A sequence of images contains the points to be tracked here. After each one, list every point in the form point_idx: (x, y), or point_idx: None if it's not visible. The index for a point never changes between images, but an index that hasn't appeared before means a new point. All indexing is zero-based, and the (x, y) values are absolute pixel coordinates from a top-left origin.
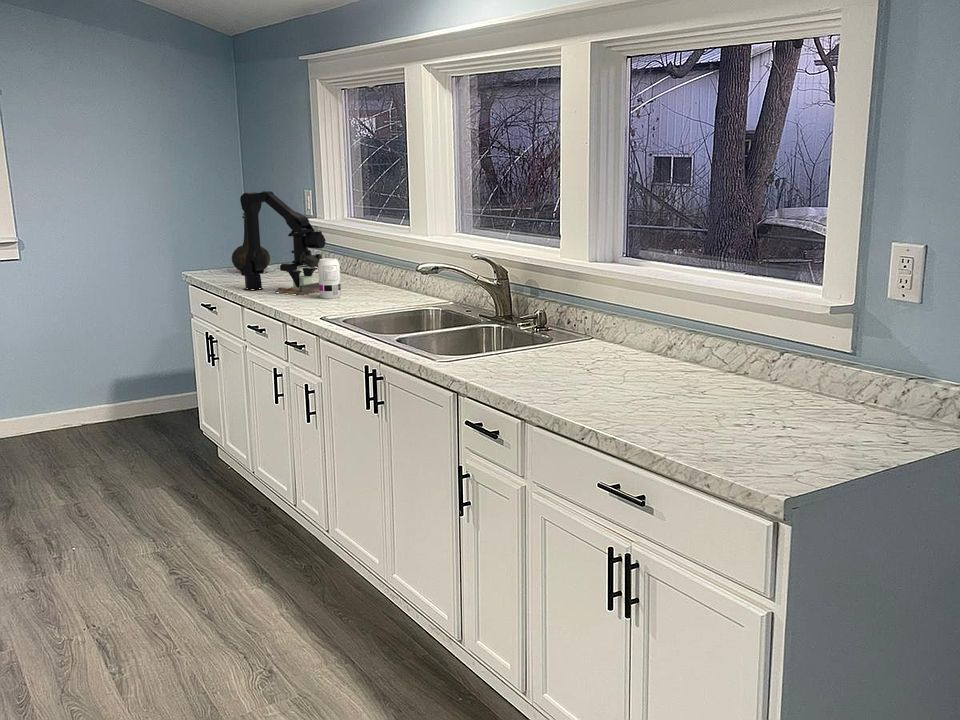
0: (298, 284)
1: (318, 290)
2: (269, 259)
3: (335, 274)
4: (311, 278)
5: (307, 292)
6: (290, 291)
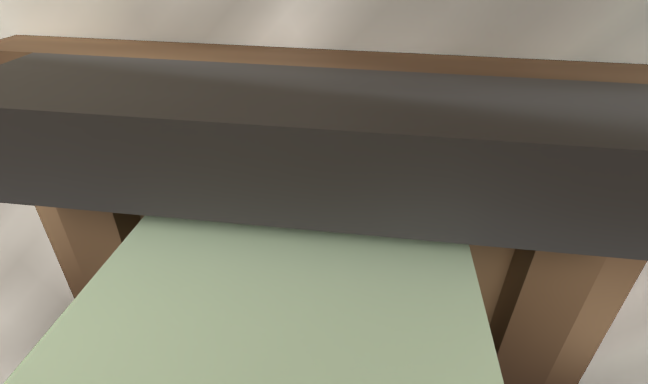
0: None
1: (126, 52)
2: None
3: None
4: (76, 359)
5: (468, 69)
6: (576, 341)
